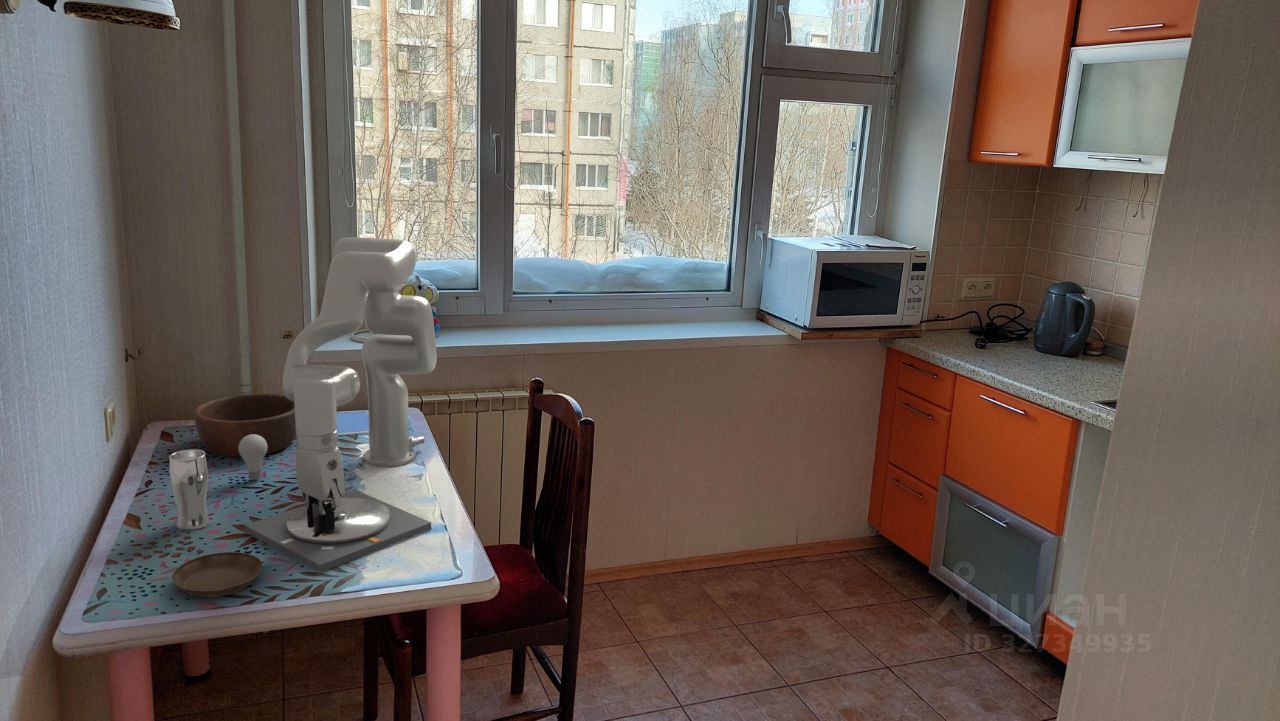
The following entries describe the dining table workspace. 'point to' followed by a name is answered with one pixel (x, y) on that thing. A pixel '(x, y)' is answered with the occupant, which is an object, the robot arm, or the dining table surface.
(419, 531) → the dial plate
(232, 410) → the wooden bowl
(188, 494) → the beer glass
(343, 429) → the tablet computer
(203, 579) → the saucer
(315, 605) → the dining table surface
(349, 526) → the dial
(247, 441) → the lightbulb
